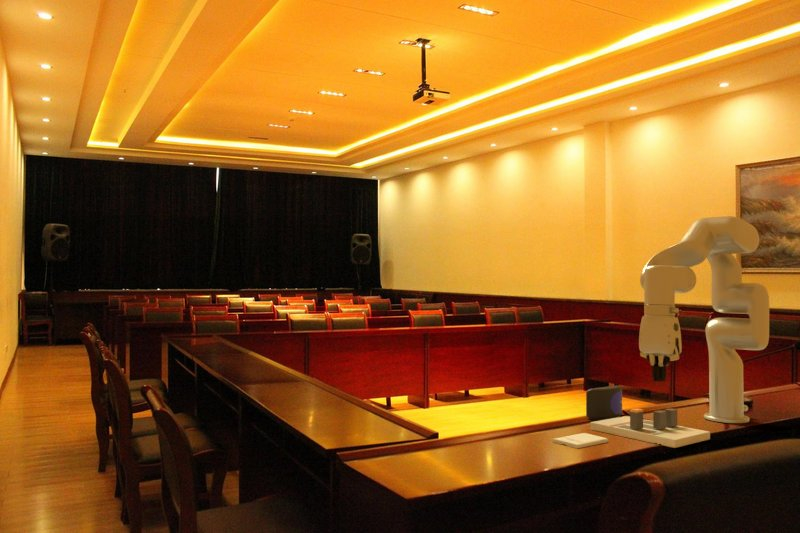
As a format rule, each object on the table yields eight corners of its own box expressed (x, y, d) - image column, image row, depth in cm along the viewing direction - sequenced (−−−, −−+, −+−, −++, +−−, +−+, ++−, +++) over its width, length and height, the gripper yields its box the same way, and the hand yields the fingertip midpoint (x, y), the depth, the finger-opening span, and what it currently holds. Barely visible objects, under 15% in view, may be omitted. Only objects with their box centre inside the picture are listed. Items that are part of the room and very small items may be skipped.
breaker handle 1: (659, 426, 179) (659, 410, 179) (666, 428, 177) (666, 411, 178) (653, 428, 177) (653, 411, 177) (660, 429, 176) (659, 412, 176)
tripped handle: (636, 426, 179) (636, 408, 179) (643, 428, 177) (643, 409, 177) (630, 428, 177) (630, 409, 177) (636, 429, 175) (636, 410, 175)
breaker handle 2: (670, 424, 182) (670, 408, 182) (677, 425, 181) (677, 409, 181) (664, 425, 180) (664, 409, 181) (671, 426, 179) (671, 410, 179)
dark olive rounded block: (596, 421, 196) (596, 390, 197) (584, 419, 200) (584, 388, 201) (630, 416, 206) (630, 386, 206) (618, 413, 209) (618, 384, 210)
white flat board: (626, 422, 196) (626, 415, 196) (710, 439, 175) (710, 431, 175) (590, 429, 186) (590, 422, 186) (674, 447, 165) (674, 439, 165)
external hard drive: (608, 444, 170) (576, 450, 163) (582, 438, 177) (551, 444, 170) (608, 438, 170) (576, 444, 163) (582, 432, 177) (551, 437, 170)
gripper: (693, 312, 168) (693, 383, 168) (642, 310, 180) (642, 376, 180) (677, 312, 164) (677, 385, 163) (626, 310, 176) (626, 378, 175)
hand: (659, 380), depth 171 cm, fingers closed
